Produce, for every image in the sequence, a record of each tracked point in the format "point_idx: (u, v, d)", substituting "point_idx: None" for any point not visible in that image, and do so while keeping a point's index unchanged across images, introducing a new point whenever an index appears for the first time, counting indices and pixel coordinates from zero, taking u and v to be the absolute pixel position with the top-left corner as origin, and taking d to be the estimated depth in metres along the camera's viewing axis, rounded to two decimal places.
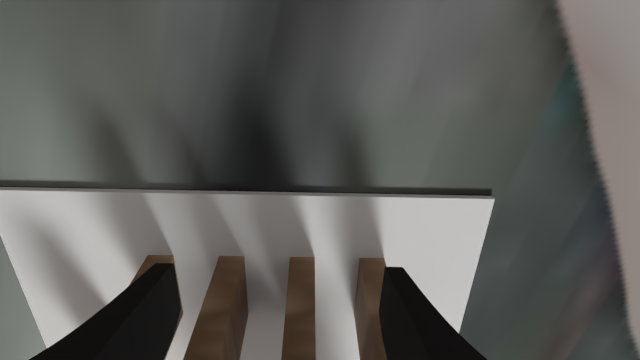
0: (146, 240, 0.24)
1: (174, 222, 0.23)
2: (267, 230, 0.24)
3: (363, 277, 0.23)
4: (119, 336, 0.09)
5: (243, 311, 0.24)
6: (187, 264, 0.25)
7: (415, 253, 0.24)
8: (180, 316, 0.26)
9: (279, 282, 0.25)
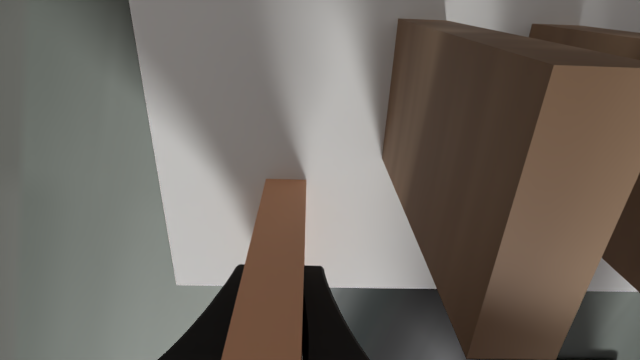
0: None
1: None
2: None
3: None
4: None
5: None
6: None
7: None
8: None
9: None
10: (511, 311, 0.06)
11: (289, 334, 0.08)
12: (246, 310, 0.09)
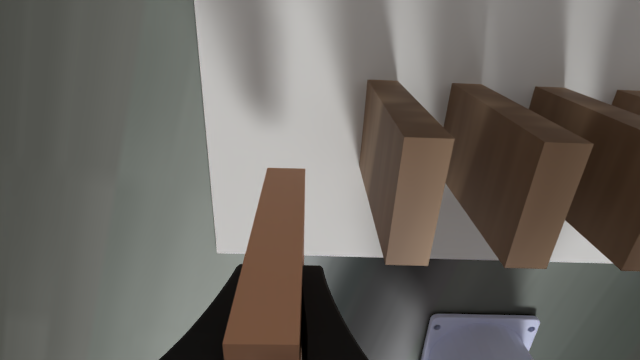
0: (371, 57, 0.20)
1: (412, 30, 0.19)
2: (520, 45, 0.19)
3: None
4: None
5: None
6: None
7: None
8: None
9: None
10: (403, 240, 0.14)
11: (289, 297, 0.09)
12: (251, 278, 0.10)
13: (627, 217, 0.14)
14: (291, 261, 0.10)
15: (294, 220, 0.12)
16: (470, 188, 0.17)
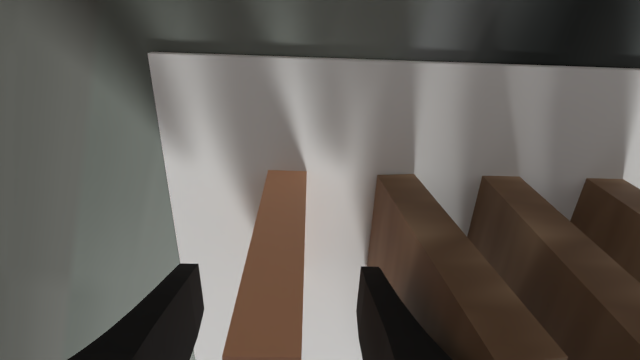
0: (381, 148, 0.15)
1: (434, 116, 0.15)
2: (569, 131, 0.15)
3: None
4: (152, 336, 0.09)
5: None
6: (429, 190, 0.16)
7: None
8: None
9: None
10: None
11: (291, 306, 0.09)
12: (251, 286, 0.10)
13: None
14: (293, 268, 0.10)
15: (295, 225, 0.12)
16: None
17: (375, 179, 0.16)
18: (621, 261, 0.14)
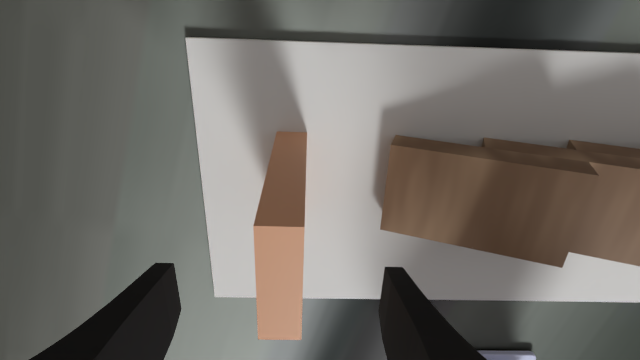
0: (365, 113, 0.20)
1: (406, 88, 0.19)
2: (513, 100, 0.20)
3: None
4: (119, 336, 0.09)
5: None
6: None
7: None
8: None
9: None
10: None
11: (297, 204, 0.13)
12: (269, 194, 0.14)
13: None
14: (297, 186, 0.14)
15: (299, 163, 0.16)
16: None
17: (361, 139, 0.20)
18: None
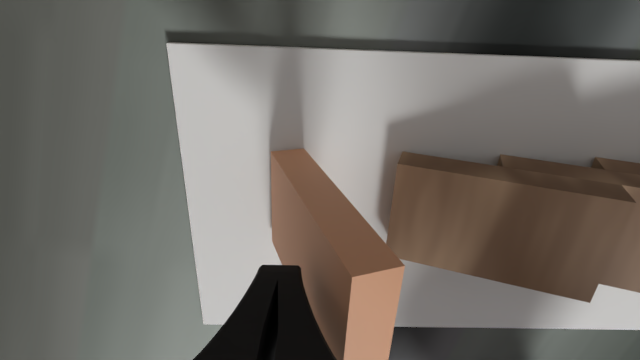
0: (369, 127, 0.18)
1: (414, 100, 0.17)
2: (534, 113, 0.17)
3: None
4: (262, 337, 0.09)
5: None
6: None
7: None
8: None
9: None
10: None
11: (373, 239, 0.12)
12: (333, 232, 0.12)
13: None
14: (353, 216, 0.13)
15: (330, 188, 0.14)
16: None
17: (364, 156, 0.18)
18: None
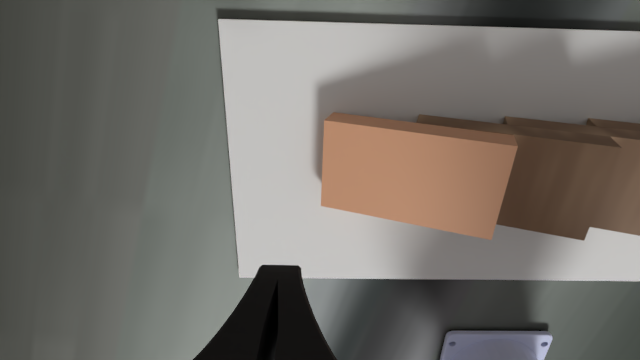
0: (390, 93, 0.20)
1: (430, 67, 0.20)
2: (534, 79, 0.20)
3: None
4: (262, 337, 0.09)
5: None
6: None
7: None
8: None
9: None
10: None
11: (483, 132, 0.18)
12: (469, 137, 0.18)
13: None
14: (453, 129, 0.19)
15: (409, 123, 0.19)
16: None
17: (385, 118, 0.21)
18: None
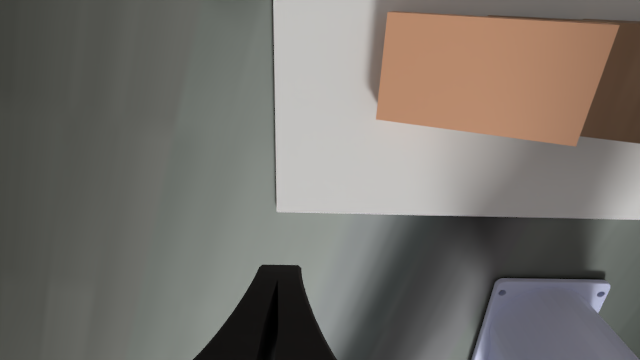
0: None
1: None
2: None
3: None
4: (262, 337, 0.09)
5: None
6: None
7: None
8: None
9: None
10: None
11: (571, 21, 0.16)
12: (559, 20, 0.15)
13: None
14: (535, 19, 0.17)
15: (483, 16, 0.17)
16: None
17: None
18: None
